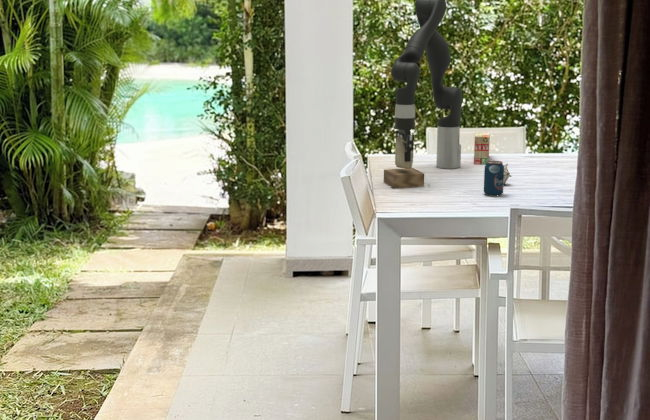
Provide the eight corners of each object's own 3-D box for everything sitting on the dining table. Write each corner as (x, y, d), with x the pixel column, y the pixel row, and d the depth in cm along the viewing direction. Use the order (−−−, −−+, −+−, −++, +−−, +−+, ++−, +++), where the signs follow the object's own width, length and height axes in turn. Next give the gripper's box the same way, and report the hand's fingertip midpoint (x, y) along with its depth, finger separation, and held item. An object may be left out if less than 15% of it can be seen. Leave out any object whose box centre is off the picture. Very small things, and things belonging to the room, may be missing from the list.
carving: (416, 167, 367) (417, 136, 364) (404, 170, 361) (404, 139, 358) (403, 165, 371) (404, 134, 368) (391, 168, 365) (391, 137, 363)
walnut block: (412, 180, 375) (413, 167, 373) (424, 186, 363) (424, 173, 362) (383, 182, 371) (383, 169, 370) (394, 188, 360) (394, 175, 359)
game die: (502, 193, 369) (518, 172, 368) (499, 189, 361) (515, 168, 360) (483, 180, 372) (499, 159, 371) (480, 176, 364) (496, 154, 363)
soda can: (498, 197, 345) (499, 164, 342) (480, 195, 348) (481, 162, 346) (505, 193, 350) (507, 161, 348) (488, 191, 354) (489, 159, 351)
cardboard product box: (474, 156, 429) (475, 128, 426) (488, 156, 428) (489, 129, 425) (473, 164, 408) (474, 135, 405) (488, 165, 407) (489, 136, 404)
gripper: (421, 118, 356) (420, 162, 359) (407, 113, 369) (406, 156, 373) (402, 119, 354) (401, 163, 358) (389, 114, 367) (388, 157, 371)
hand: (404, 159), depth 365 cm, fingers closed on carving, 6 cm apart
